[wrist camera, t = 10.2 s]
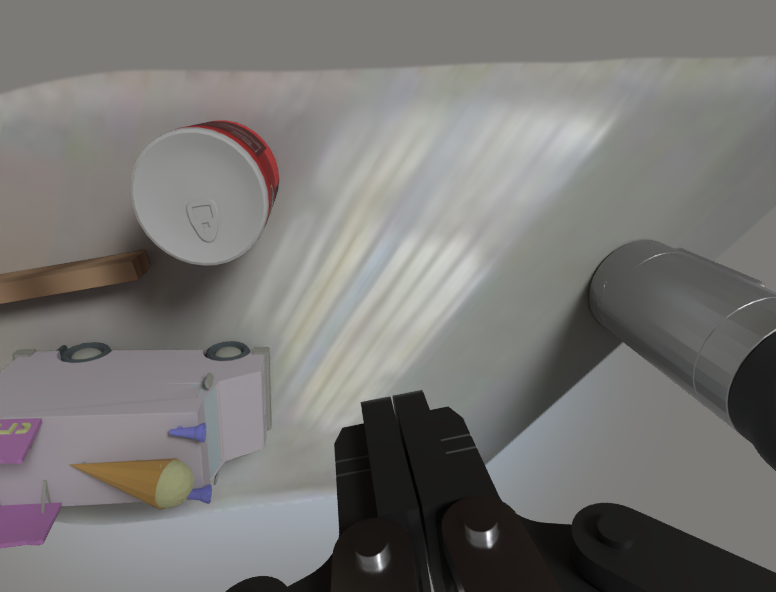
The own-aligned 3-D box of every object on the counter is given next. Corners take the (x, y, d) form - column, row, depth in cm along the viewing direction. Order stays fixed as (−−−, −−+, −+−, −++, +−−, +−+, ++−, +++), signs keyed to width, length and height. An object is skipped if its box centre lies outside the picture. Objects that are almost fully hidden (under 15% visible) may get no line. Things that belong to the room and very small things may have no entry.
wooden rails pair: (143, 247, 40) (116, 270, 34) (205, 430, 47) (191, 474, 41) (-40, 277, 39) (-99, 307, 33) (51, 460, 46) (15, 510, 40)
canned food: (210, 239, 41) (176, 286, 30) (156, 144, 37) (98, 161, 27) (297, 201, 40) (291, 236, 30) (250, 103, 37) (226, 104, 27)
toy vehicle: (273, 418, 48) (256, 549, 34) (49, 425, 45) (-70, 572, 31) (271, 329, 44) (251, 435, 30) (28, 331, 41) (-116, 448, 27)
